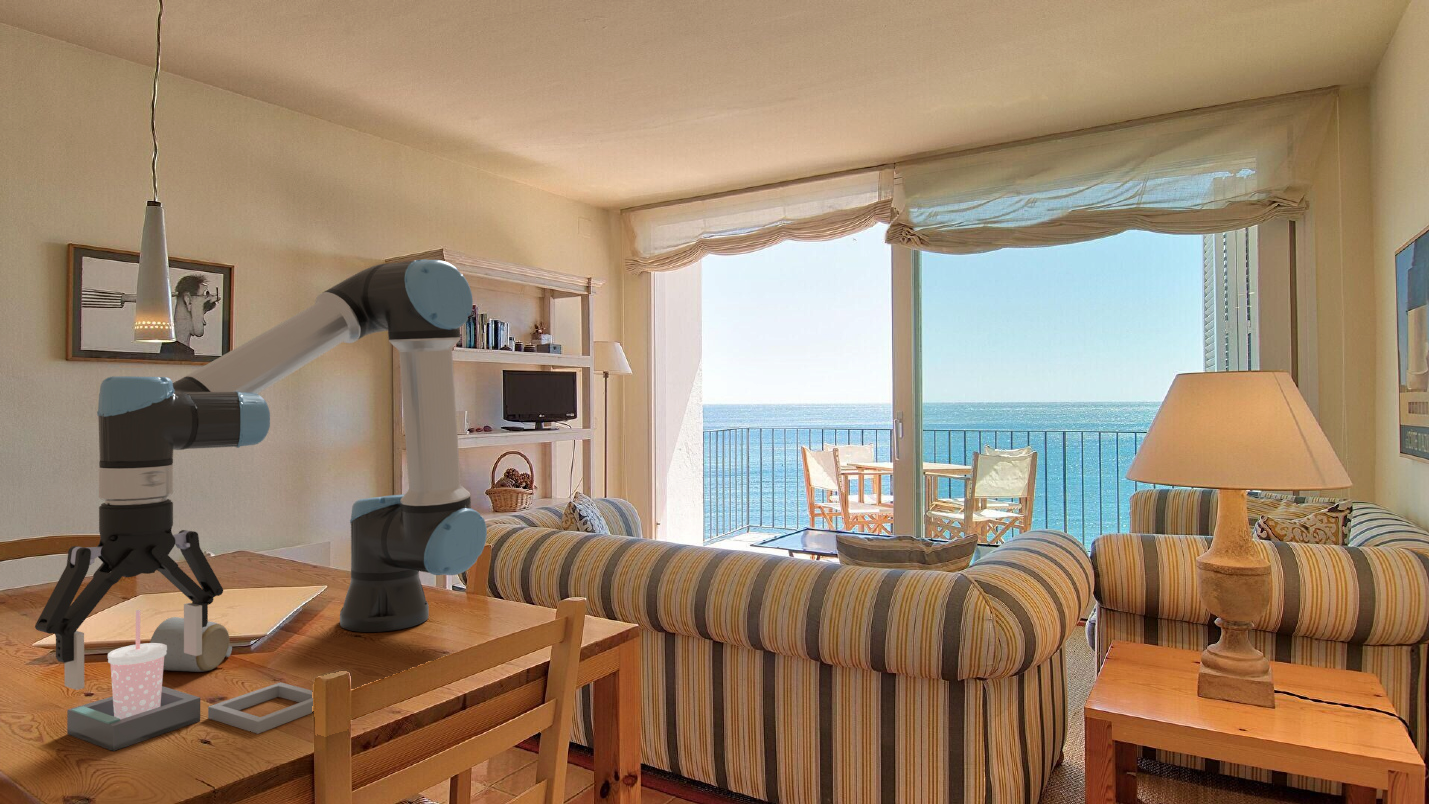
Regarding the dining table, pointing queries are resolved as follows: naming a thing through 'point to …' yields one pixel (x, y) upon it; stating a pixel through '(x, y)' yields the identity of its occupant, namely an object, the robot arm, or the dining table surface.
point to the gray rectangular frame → (234, 717)
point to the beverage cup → (137, 676)
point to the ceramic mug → (177, 660)
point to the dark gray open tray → (132, 720)
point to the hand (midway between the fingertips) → (137, 669)
